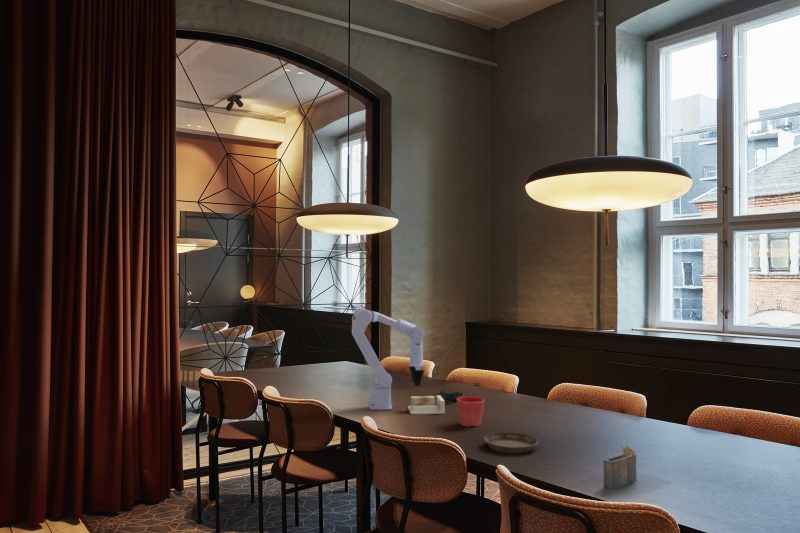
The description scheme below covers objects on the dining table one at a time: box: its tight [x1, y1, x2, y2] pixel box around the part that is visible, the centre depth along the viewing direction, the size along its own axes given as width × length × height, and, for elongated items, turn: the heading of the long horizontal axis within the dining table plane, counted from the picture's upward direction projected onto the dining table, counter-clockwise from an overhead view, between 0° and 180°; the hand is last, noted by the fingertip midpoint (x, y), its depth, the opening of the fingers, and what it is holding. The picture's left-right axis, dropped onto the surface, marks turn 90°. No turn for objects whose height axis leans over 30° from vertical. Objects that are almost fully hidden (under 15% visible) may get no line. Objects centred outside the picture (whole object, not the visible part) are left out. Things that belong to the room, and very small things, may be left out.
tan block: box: [410, 395, 437, 410], centre depth 258 cm, size 10×4×5 cm, turn 95°
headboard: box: [407, 394, 446, 415], centre depth 258 cm, size 14×12×5 cm
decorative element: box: [435, 391, 463, 405], centre depth 273 cm, size 22×5×6 cm, turn 147°
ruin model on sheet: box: [603, 445, 637, 490], centre depth 168 cm, size 11×3×10 cm, turn 127°
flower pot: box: [456, 396, 485, 427], centre depth 235 cm, size 11×11×10 cm
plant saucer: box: [483, 431, 539, 454], centre depth 203 cm, size 18×18×3 cm
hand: (416, 384), depth 268 cm, fingers open, 7 cm apart
